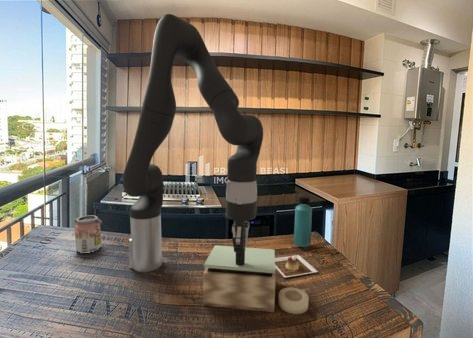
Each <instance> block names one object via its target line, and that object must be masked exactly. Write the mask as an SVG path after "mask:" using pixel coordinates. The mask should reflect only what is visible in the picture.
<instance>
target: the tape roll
mask: <svg viewBox="0 0 473 338" xmlns="http://www.w3.org/2000/svg"><path fill="white" fill-rule="evenodd" d="M309 299H310V298H309V295H308V294H307V292H305V291H304V290H302V289H300V288H297V287H290V286H289V287H285V288H284V287H283V288H282V289H281V290H280V291H279V292H278V306H279V308H280V309H281V310H283V311H284V312H286V313H289V314H292V315H301V314H304V313H306V312H307V311H308V309H309Z"/></svg>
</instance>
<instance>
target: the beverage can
mask: <svg viewBox="0 0 473 338" xmlns="http://www.w3.org/2000/svg"><path fill="white" fill-rule="evenodd" d="M74 223H76V224H75V225H74V237H75V248H76V249H75V250H76V252H77V251H78V252H77V253H79V252H92V251H96V250H97V249H99V248H100V247H102V235H101V232H102V231H101V224H102V223H103V221H102V219H100V218H99V217H98V216H96V215H94V214H93V215H82V216H80V217H78V218H74ZM100 249H101V248H100ZM100 249H99V250H100ZM96 252H97V251H96Z"/></svg>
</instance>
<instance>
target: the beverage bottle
mask: <svg viewBox="0 0 473 338" xmlns="http://www.w3.org/2000/svg"><path fill="white" fill-rule="evenodd" d="M310 200H311V199H310V197H309V196H305V195H300V196H299V197H298V203H299V204H298V205H296V206H295V208H294V209H295V210H294V213H295V214H294V225H293V227H294V228H293V230H294V231H293V244H294V245H295V246H297V247H299V248H300V247H301V248H307V247H310V246H311V244H312V242H311V240H312V228H313V227H312V223H313V222H312V218H313V217H312V216H313V208H312V207H311V206H310V205H308V204H311V203H310Z"/></svg>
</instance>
